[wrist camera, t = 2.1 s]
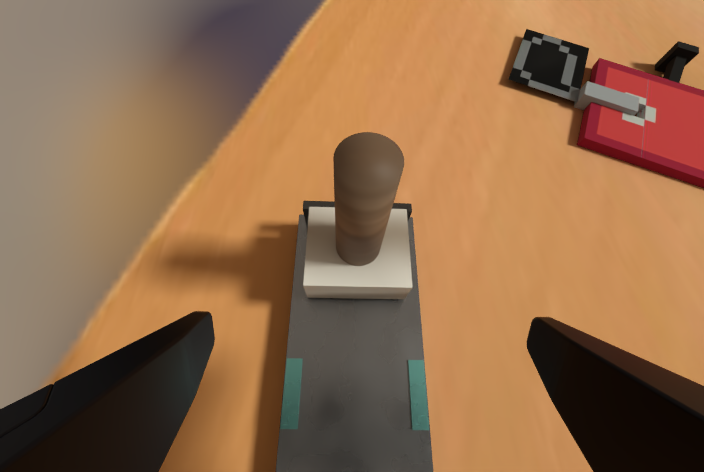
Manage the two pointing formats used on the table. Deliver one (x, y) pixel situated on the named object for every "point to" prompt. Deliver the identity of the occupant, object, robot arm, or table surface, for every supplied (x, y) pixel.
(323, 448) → the rail
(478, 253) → the table surface
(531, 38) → the red board with handle
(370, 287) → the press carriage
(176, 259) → the table surface
